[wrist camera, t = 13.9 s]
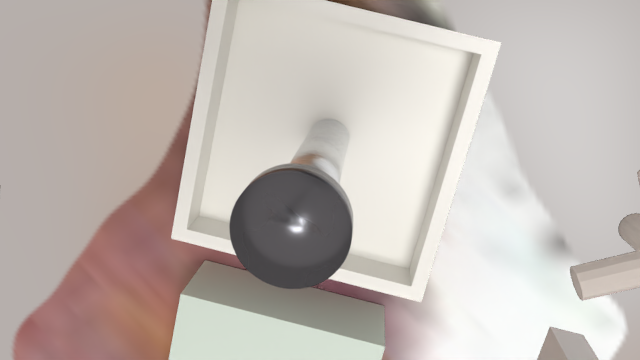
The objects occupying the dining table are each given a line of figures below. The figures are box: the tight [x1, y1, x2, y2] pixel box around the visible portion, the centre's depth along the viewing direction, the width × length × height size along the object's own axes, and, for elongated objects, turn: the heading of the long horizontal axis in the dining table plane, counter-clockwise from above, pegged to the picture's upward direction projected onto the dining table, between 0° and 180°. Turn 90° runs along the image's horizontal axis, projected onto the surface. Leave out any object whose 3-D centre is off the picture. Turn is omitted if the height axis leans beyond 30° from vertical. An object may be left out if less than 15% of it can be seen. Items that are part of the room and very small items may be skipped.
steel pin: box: [229, 118, 354, 289], centre depth 27 cm, size 4×4×16 cm
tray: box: [171, 0, 501, 302], centre depth 34 cm, size 15×15×4 cm
